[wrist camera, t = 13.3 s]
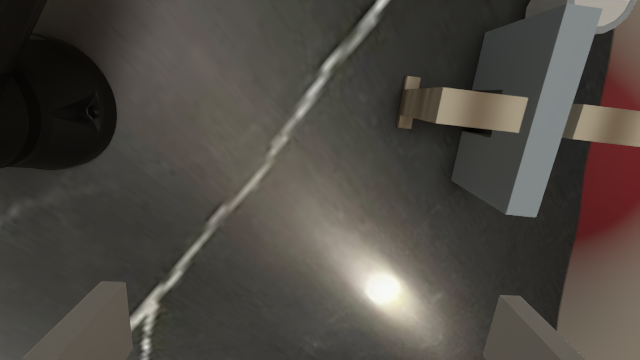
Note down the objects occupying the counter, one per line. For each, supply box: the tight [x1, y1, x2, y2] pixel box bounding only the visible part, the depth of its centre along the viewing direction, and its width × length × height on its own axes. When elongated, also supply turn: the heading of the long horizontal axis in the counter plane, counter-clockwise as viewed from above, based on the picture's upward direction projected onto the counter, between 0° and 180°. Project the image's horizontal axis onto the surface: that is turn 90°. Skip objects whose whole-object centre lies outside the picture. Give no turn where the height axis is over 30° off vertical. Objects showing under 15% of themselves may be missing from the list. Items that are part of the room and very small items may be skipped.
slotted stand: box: [396, 76, 640, 147], centre depth 33 cm, size 20×6×12 cm, turn 84°
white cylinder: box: [525, 0, 637, 34], centre depth 32 cm, size 7×7×7 cm
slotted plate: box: [451, 4, 602, 217], centre depth 33 cm, size 18×3×12 cm, turn 174°
